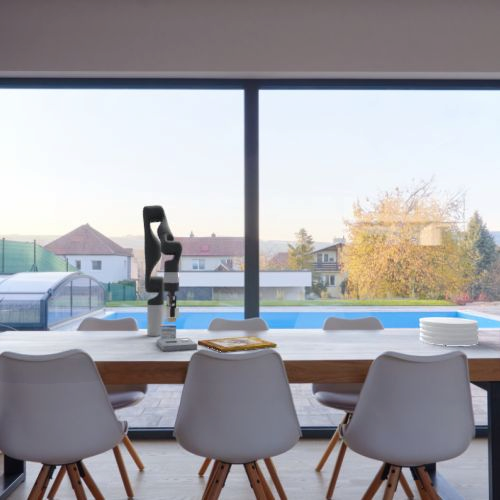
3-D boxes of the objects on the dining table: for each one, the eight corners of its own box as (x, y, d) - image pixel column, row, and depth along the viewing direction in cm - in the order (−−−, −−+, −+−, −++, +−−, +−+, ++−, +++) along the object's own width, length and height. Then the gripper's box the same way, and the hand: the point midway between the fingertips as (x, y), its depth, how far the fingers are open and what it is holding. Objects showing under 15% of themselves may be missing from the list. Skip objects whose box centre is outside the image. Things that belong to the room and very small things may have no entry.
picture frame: (197, 340, 237) (249, 336, 252) (197, 344, 237) (249, 340, 252) (221, 349, 214) (276, 343, 228) (221, 354, 214) (276, 348, 228)
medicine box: (160, 342, 241) (160, 325, 241) (160, 341, 245) (160, 324, 245) (176, 341, 243) (176, 325, 243) (175, 340, 247) (175, 324, 248)
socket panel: (156, 344, 235) (156, 337, 235) (188, 342, 241) (188, 336, 241) (163, 351, 216) (163, 344, 216) (197, 349, 222) (197, 342, 222)
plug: (163, 321, 230) (163, 306, 230) (176, 320, 232) (176, 306, 232) (165, 322, 224) (165, 307, 224) (178, 321, 226) (178, 307, 227)
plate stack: (425, 336, 262) (424, 316, 262) (480, 340, 248) (480, 319, 248) (414, 344, 238) (414, 321, 238) (475, 349, 223) (475, 325, 224)
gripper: (161, 281, 234) (161, 315, 233) (166, 282, 220) (166, 318, 220) (176, 281, 237) (176, 314, 236) (182, 282, 223) (181, 317, 223)
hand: (171, 316), depth 228 cm, fingers closed on plug, 5 cm apart
